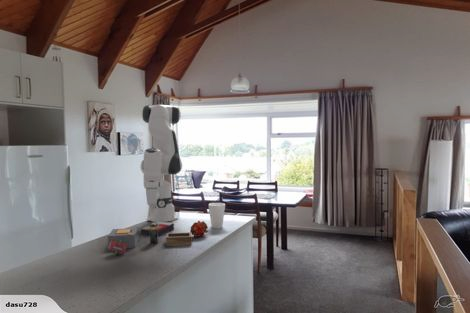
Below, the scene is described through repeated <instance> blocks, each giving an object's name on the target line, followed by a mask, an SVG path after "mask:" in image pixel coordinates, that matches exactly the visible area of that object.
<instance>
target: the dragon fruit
mask: <svg viewBox="0 0 470 313" xmlns="http://www.w3.org/2000/svg"><path fill="white" fill-rule="evenodd" d="M208 228H209V226H208V225H207V223H206V222H205V221H204V220H202V221H200V220H197V221H196V222H194V223H193V224H192V225H191V226H190V232H191V236H193V238H198V237H201V238H202V237H204V236H205V234H206V233H208V232H209V230H208Z"/></svg>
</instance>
